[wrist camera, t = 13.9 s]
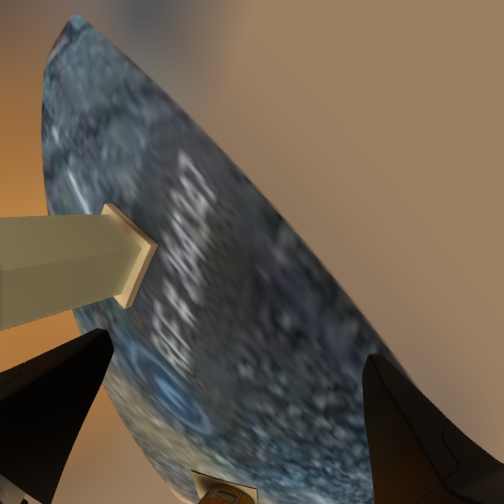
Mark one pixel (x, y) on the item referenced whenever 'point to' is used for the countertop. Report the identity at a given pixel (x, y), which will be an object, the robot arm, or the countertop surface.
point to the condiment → (222, 491)
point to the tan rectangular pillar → (60, 264)
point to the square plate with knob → (143, 258)
